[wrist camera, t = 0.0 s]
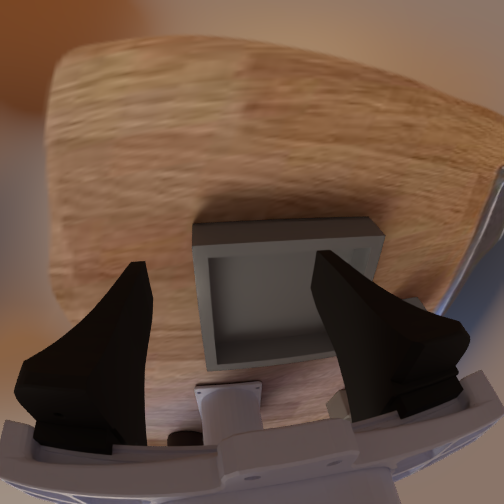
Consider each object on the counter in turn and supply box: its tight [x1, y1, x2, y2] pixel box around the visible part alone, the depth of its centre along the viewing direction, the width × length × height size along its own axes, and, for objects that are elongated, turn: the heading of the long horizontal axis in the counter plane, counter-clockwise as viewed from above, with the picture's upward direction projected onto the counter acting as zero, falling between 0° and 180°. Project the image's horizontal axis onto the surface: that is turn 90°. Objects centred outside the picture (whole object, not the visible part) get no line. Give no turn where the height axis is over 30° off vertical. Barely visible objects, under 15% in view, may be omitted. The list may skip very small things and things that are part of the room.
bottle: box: [167, 432, 204, 446], centre depth 35 cm, size 7×7×20 cm
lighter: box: [326, 390, 352, 424], centre depth 38 cm, size 7×2×8 cm, turn 161°
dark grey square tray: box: [192, 217, 385, 371], centre depth 26 cm, size 14×14×3 cm
